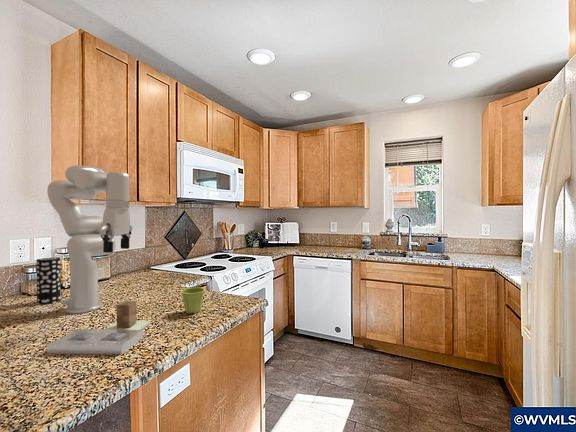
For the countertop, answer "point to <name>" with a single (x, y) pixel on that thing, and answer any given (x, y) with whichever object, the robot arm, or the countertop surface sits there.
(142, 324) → the sage pad
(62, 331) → the countertop surface
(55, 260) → the spotted tube
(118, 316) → the walnut block
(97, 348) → the socket plate
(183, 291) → the plant pot
